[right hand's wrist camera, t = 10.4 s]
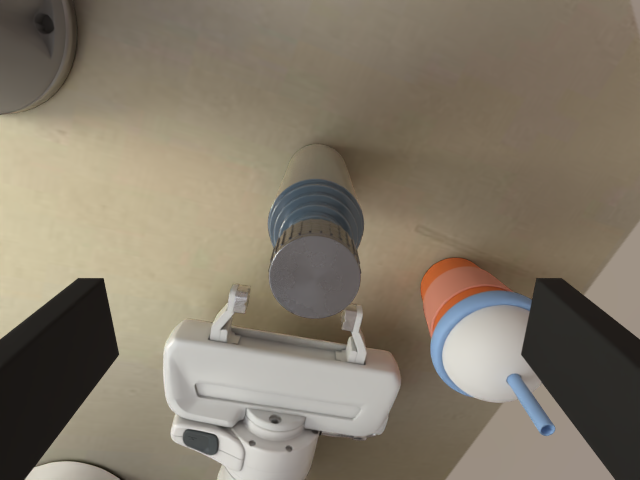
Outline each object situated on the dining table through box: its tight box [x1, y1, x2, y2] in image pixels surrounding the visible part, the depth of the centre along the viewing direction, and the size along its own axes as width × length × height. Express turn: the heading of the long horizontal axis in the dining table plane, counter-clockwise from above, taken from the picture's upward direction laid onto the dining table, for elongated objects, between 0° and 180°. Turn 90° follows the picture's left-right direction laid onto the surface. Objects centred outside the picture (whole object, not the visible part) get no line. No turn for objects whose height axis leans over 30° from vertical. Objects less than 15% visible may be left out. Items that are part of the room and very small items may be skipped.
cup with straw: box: [421, 258, 555, 436], centre depth 32 cm, size 9×9×18 cm
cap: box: [269, 218, 361, 319], centre depth 18 cm, size 4×4×2 cm
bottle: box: [268, 144, 364, 249], centre depth 27 cm, size 5×5×21 cm
